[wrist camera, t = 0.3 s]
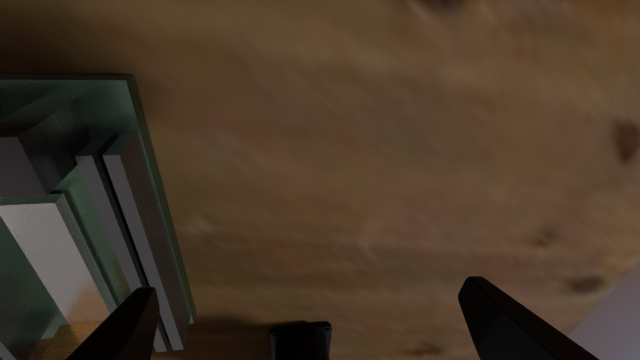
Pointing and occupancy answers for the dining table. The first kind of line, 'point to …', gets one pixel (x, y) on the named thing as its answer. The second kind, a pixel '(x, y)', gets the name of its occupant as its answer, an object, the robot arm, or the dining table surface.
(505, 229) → the dining table surface
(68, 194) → the green plate fixture
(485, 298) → the robot arm
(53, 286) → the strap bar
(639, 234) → the dining table surface
